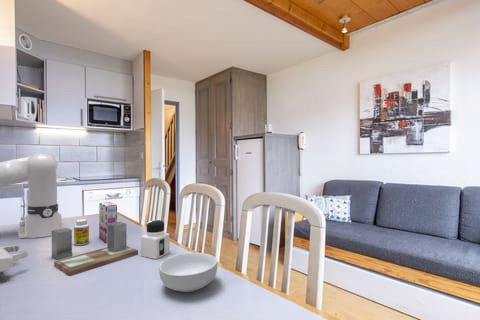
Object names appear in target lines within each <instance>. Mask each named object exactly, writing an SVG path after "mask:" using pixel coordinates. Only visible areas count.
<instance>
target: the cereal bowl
mask: <svg viewBox="0 0 480 320" xmlns="http://www.w3.org/2000/svg"><path fill="white" fill-rule="evenodd" d="M217 269H218V261H217V258H216V257H215V256H214V255H212V254H210V253H203V252H182V253H179V254H175V255H172V256H169V257H167V258H165V259H164V260H162V261H161V262H160V264H159V266H158V272H159V273H158V274H159V278H160V280H161V282H162V284H163V285H164V286H165V287H166V288H169V289H170V290H173V291H176V292H177V291H178V292H181V293H191V292H196V291H198V290H200V289H201V288H204V287H205V286H207V285H208V284H210V283H211V282H212V281H213V280H214V278H215V276H216V274H217V271H218V270H217Z"/></svg>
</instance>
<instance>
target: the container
mask: <svg viewBox="0 0 480 320" xmlns="http://www.w3.org/2000/svg"><path fill="white" fill-rule="evenodd" d="M170 235H171V234H170V233H167V232H165V222H164V220H161V219H154V220H150V221H148V222H147V223H146V234H143V235H140V256H141V257H145V258H148V259H153V260H157V259H160V258H162V257H164V256H166V255H168V254H170V249H171V248H170V244H171V243H170V242H171V241H170V238H171V237H170Z"/></svg>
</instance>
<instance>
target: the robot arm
mask: <svg viewBox="0 0 480 320" xmlns="http://www.w3.org/2000/svg"><path fill="white" fill-rule="evenodd" d="M57 169H58V161H57V159H56V158H55V157H54V156H53V155H50V154H48V153H36V154H33V155H30V156H25V157H20V158H15V159H10V160H9V159H8V160H5V161H1V162H0V188H3V187H7V186H11V185H16V184H20V183H23V182H27V186H28V206H27V208H26V210H27V211H26V213H27V215H25V217H24V219H23V220H22V221H20V222H19V227H20V229H18V230H17V235H18V239H36V238H45V237H50V236H51V237H52V230H58V229H63V228H66V227H63V218H62V214H61V213H59V203H58V186H57ZM15 252H18V253H15ZM10 253H13V254H10ZM28 256H29V253H28V251H26V250H24V251H20V246H19V244H18V245H11V246H10V245H8V246H7V245H6V246H0V273H1V272H4V271H8V270H9V269H11V268H14V263H15V262H19V260H21V259H25V258H28Z"/></svg>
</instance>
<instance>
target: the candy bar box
mask: <svg viewBox="0 0 480 320" xmlns="http://www.w3.org/2000/svg"><path fill="white" fill-rule="evenodd" d="M98 205H99V207H98V210H99V211H98V212H99V215H98V222H99V223H98V225H99V227H98V238H99V239H100V240H101V241H103V243H105V244H107V224H111V223H116V222H118V205H117V204H116V203H113V202H110V201H107V202H99V204H98Z"/></svg>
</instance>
